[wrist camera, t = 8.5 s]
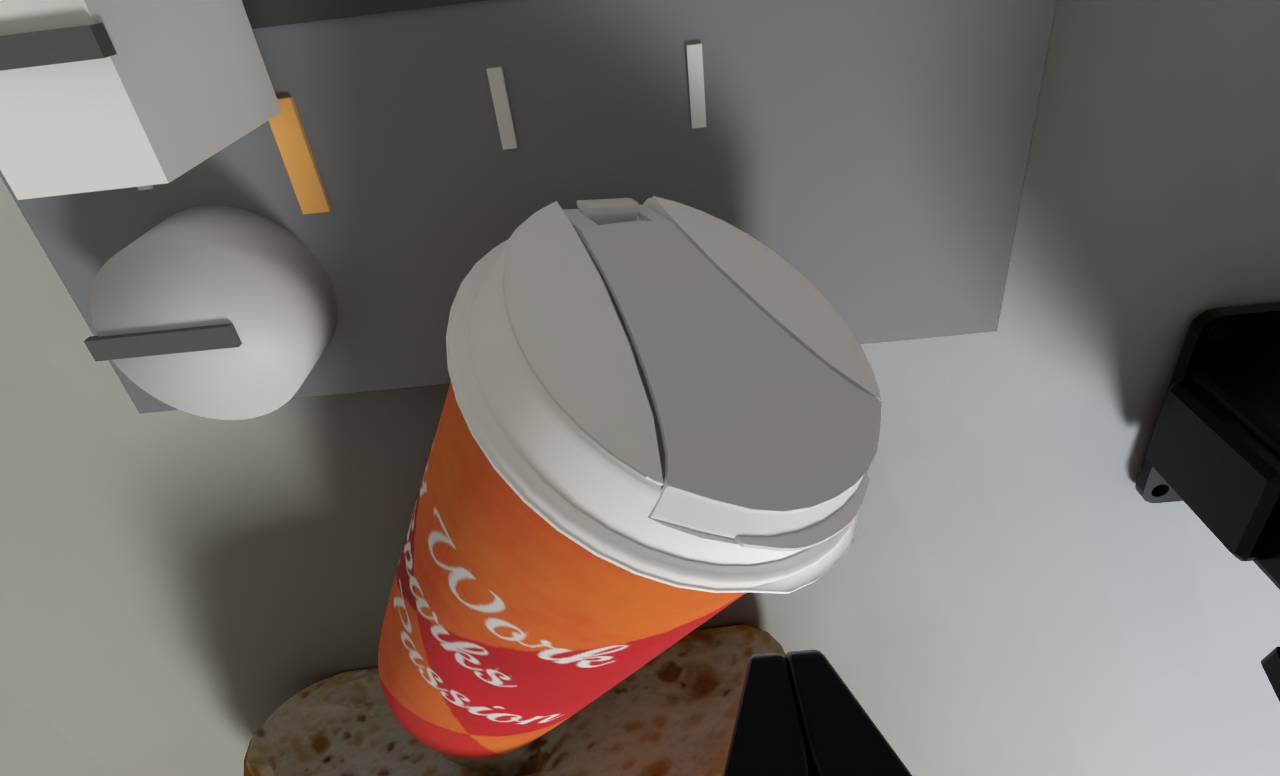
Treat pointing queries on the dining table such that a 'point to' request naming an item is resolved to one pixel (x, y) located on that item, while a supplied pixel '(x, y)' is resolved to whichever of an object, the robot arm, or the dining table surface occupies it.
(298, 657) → the dining table surface
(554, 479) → the coffee cup
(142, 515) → the dining table surface
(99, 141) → the fader
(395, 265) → the console
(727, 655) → the bread
